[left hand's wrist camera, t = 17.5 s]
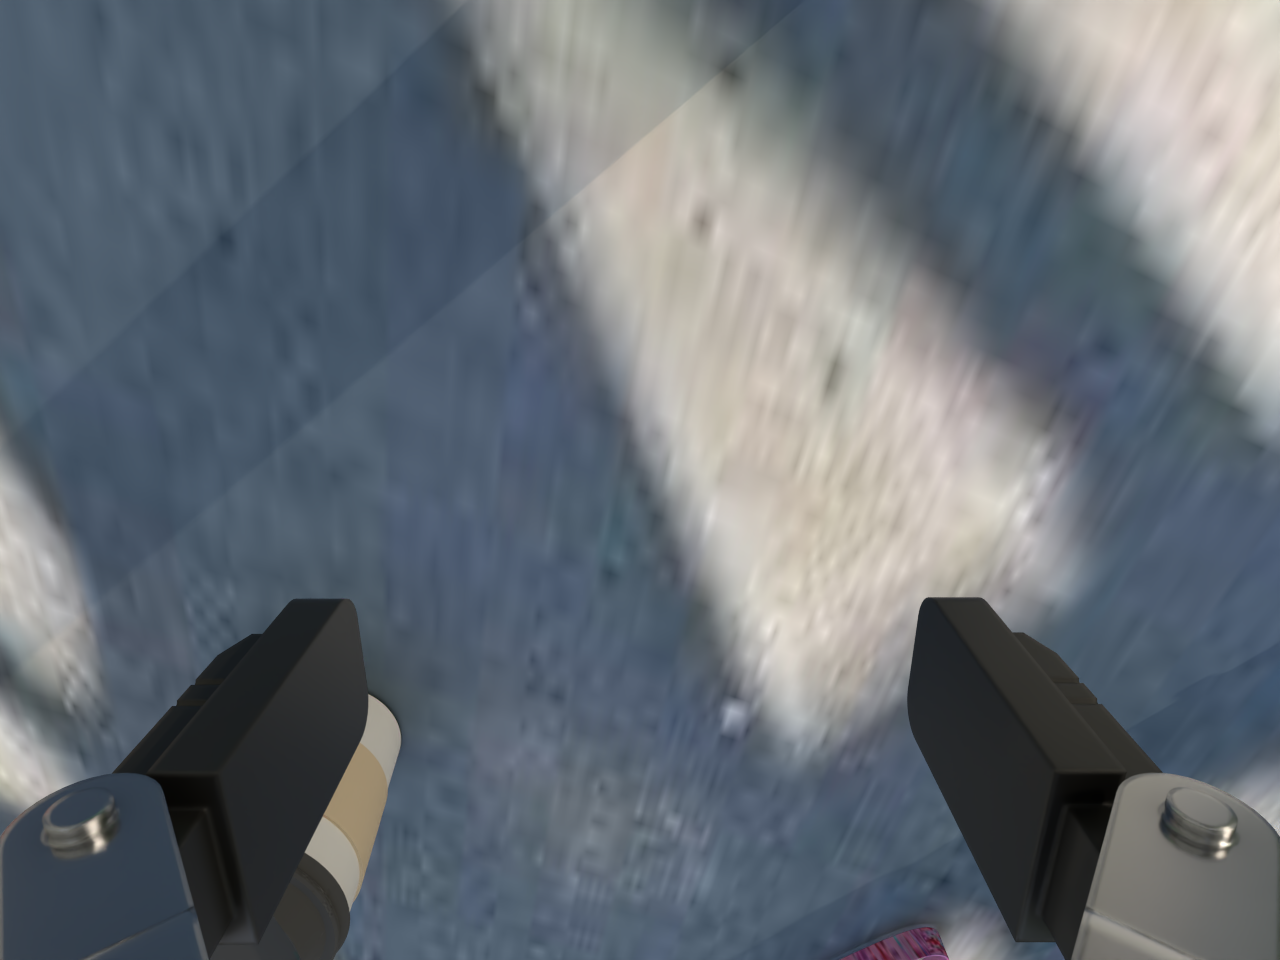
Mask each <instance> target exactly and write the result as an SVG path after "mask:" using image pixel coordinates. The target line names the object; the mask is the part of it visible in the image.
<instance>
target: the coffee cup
mask: <svg viewBox="0 0 1280 960" xmlns="http://www.w3.org/2000/svg"><path fill="white" fill-rule="evenodd" d="M368 700H369V702H368V716H367V722H366V727H365V731H364V734H363V737H362V739H361V741H360V743H359V745H358V747H357V749H356V751H355V753H354V755H353V757H352V759H351V761H350V763H349V765H348V767H347V769H346V771H345V773H344V775H343V777H342V779H341V781H340V783H339V785H338V787H337V789H336V791H335V793H334V795H333V797H332V799H331V801H330V803H329V805H328V807H327V809H326V811H325V813H324V815H323V817H322V819H321V821H320V823H319V825H318V827H317V829H316V831H315V833H314V835H313V837H312V839H311V841H310V843H309V845H308V847H307V849H306V851H305V853H304V855H303V857H302V859H301V861H300V863H299V865H298V867H297V869H296V871H295V873H294V875H293V877H292V879H291V881H290V883H289V885H288V887H287V889H286V891H285V893H284V895H283V897H282V899H281V901H280V903H279V905H278V907H277V908H276V910H275V912H274V914H273V916H272V918H271V920H270V922H269V924H268V926H267V928H266V930H265V932H264V934H263V936H262V938H261V940H260V942H259V944H258V945H218V946H217V947H216V949H215V951H214V953H213V955H212V956H211V958H210V960H333V959H334V957H335V955H336V953H337V952H338V950H339V949H340V948H341V946H342V945H343V943H344V941H345V939H346V937H347V934H348V930H349V925H350V910H351V906H352V903H353V902H354V900H355V899H356V897H357V895H358V893H359V891H360V888H361V885H362V882H363V878H364V875H365V872H366V868H367V865H368V861H369V858H370V854H371V851H372V848H373V844H374V841H375V837H376V834H377V831H378V827H379V824H380V820H381V817H382V814H383V810H384V807H385V803H386V800H387V793H388V786H389V783H390V779H391V776H392V773H393V770H394V766H395V763H396V760H397V757H398V753H399V750H400V746H401V734H400V729H399V726H398V723H397V721H396V719H395V718H394V716H393V714H392V713H391V712H390V711H389V709H388V708H387V707H386V706H385V705H384V704H383V703H381V702H380V701H379V700H377V699H376V698H374V697H373V696H371V695H369V694H368Z"/></svg>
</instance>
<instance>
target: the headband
mask: <svg viewBox="0 0 1280 960" xmlns="http://www.w3.org/2000/svg"><path fill="white" fill-rule="evenodd" d="M924 957H925V958H924ZM920 958H924V959H923V960H949V958H948V956H947V953H946V951H945V948H944V946H943V943H942V941H941V938H940V936H939V933H938V931H937V930H936V929H934V928H929V927H925V928H918V929H913V930H910V931H906V932H903V933H900V934H898V935H895V936H892V937H890V938H887V939H885V940H882V941H880V942H878V943H875V944H873V945H871V946H869V947H866V948H864V949H862V950H860V951H858V952H855V953H853V954H851V955H849V956H847V957H845V958H843V959H841V960H917V959H920Z"/></svg>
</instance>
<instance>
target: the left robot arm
mask: <svg viewBox="0 0 1280 960" xmlns="http://www.w3.org/2000/svg"><path fill="white" fill-rule="evenodd" d="M368 702H369V700H368V688H367V681H366V674H365V667H364V660H363V653H362V646H361V639H360V632H359V625H358V618H357V613H356V609H355V606H354V604H353V603H352V601H351V600H350V599H293V600H292V601H290V602H289V603H288V604H287V606H286V607H285V608H284V609H283V610H282V612H281V613H280V614H279V615H278V616H277V617H276V619H275V620H274V621H273V622H272V623H271V625H270V626H269V627H268V628H267V629H266V631H265V632H264V633H263V634H251V635H250V636H248V637H246V638H245V639H243V640H241V641H240V642H238V643H237V644H235V645H233V646H232V647H230V648H229V649H227V650H225V651H224V652H222V653H221V654H219V655H218V656H217V657H216V658H215V659H214V660H213V661H212V662H211V663H210V664H209V666H208V667H207V668H206V669H205V670H204V671H203V672H202V673H201V675H200V676H199V677H198V678H197V679H196V683H195V685H191V686H190V687H189V688H188V689H187V690H186V691H185V692H184V694H183V695H182V696H181V697H180V698H179V699H178V700H177V705H176V706H172V707H171V708H170V709H169V710H168V711H167V712H166V714H165V715H164V716H163V717H162V718H161V719H160V720H159V721H158V723H157V724H156V725H155V726H154V727H153V728H152V729H151V730H150V731H149V733H148V734H147V735H146V736H145V737H144V738H143V739H142V740H141V742H140V743H139V744H138V745H137V746H136V747H135V748H134V749H133V750H132V752H131V753H130V754H129V755H128V756H127V757H126V758H125V759H124V760H123V762H122V763H121V764H120V765H119V766H118V767H117V768H116V769H115V771H114V772H113V773H112V774H106V775H101V776H97V777H92V778H89V779H86V780H83V781H79V782H77V783H74V784H72V785H69V786H67V787H64V788H62V789H60V790H58V791H56V792H54V793H52V794H50V795H48V796H46V797H45V798H43V799H41V800H40V801H38V802H36V803H35V804H34V805H32V806H31V807H29V808H28V809H26V810H25V811H24V812H23V813H22V814H20V815H19V816H18V817H17V818H16V819H15V820H14V821H13V822H12V823H11V824H10V825H9V826H8V827H7V828H6V829H5V831H4V832H3V834H2V835H1V836H0V960H210V958H211V956H212V955H213V953H214V951H215V949H216V947H217V946H218V945H258V944H259V942H260V940H261V938H262V936H263V934H264V932H265V930H266V928H267V926H268V924H269V922H270V920H271V918H272V916H273V914H274V912H275V910H276V908H277V907H278V905H279V903H280V901H281V899H282V897H283V895H284V893H285V891H286V889H287V887H288V885H289V883H290V881H291V879H292V877H293V875H294V873H295V871H296V869H297V867H298V865H299V863H300V861H301V859H302V857H303V855H304V853H305V851H306V849H307V847H308V845H309V843H310V841H311V839H312V837H313V835H314V833H315V831H316V829H317V827H318V825H319V823H320V821H321V819H322V817H323V815H324V813H325V811H326V809H327V807H328V805H329V803H330V801H331V799H332V797H333V795H334V793H335V791H336V789H337V787H338V785H339V783H340V781H341V779H342V777H343V775H344V773H345V771H346V769H347V767H348V765H349V763H350V761H351V759H352V757H353V755H354V753H355V751H356V749H357V747H358V745H359V743H360V741H361V739H362V737H363V734H364V731H365V727H366V722H367V716H368ZM907 704H908V715H909V721H910V726H911V729H912V733H913V735H914V738H915V740H916V742H917V744H918V746H919V748H920V750H921V752H922V754H923V756H924V758H925V760H926V762H927V764H928V766H929V768H930V770H931V772H932V774H933V776H934V778H935V780H936V782H937V784H938V786H939V788H940V790H941V792H942V794H943V796H944V798H945V800H946V802H947V804H948V806H949V808H950V810H951V812H952V814H953V817H954V819H955V821H956V823H957V825H958V827H959V829H960V831H961V833H962V835H963V837H964V839H965V841H966V843H967V845H968V847H969V849H970V851H971V853H972V855H973V857H974V859H975V861H976V863H977V865H978V867H979V869H980V871H981V873H982V875H983V877H984V879H985V881H986V883H987V885H988V887H989V889H990V891H991V893H992V895H993V897H994V899H995V901H996V903H997V905H998V907H999V909H1000V911H1001V913H1002V915H1003V917H1004V919H1005V921H1006V923H1007V925H1008V927H1009V930H1010V932H1011V934H1012V936H1013V938H1014V940H1015V942H1056V944H1057V945H1058V947H1059V949H1060V951H1061V953H1062V955H1063V956H1064V958H1065V960H1280V836H1279V835H1278V834H1277V832H1276V831H1275V829H1274V828H1273V827H1272V826H1271V825H1270V824H1269V823H1268V822H1267V821H1266V820H1265V819H1264V818H1263V817H1262V816H1261V815H1260V814H1258V813H1257V812H1256V811H1255V810H1254V809H1252V808H1251V807H1249V806H1248V805H1246V804H1245V803H1244V802H1242V801H1240V800H1239V799H1237V798H1235V797H1234V796H1232V795H1230V794H1228V793H1226V792H1224V791H1222V790H1220V789H1218V788H1216V787H1213V786H1211V785H1208V784H1206V783H1203V782H1201V781H1197V780H1194V779H1191V778H1188V777H1183V776H1179V775H1174V774H1166V773H1163V772H1162V771H1161V770H1160V769H1159V768H1158V767H1157V766H1156V765H1155V763H1154V762H1153V761H1152V760H1151V759H1150V758H1149V757H1148V756H1147V754H1146V753H1145V752H1144V751H1143V750H1142V749H1141V748H1140V747H1139V745H1138V744H1137V743H1136V742H1135V741H1134V740H1133V739H1132V738H1131V736H1130V735H1129V734H1128V733H1127V732H1126V731H1125V730H1124V729H1123V727H1122V726H1121V725H1120V724H1119V723H1118V722H1117V721H1116V720H1115V718H1114V717H1113V716H1112V715H1111V714H1110V713H1109V712H1108V711H1107V709H1106V708H1105V707H1104V706H1103V705H1102V704H1098V703H1097V698H1096V697H1095V696H1094V695H1093V694H1092V692H1091V691H1090V690H1089V689H1088V688H1087V687H1086V686H1085V685H1084V683H1079V678H1078V677H1077V676H1076V674H1075V673H1074V672H1073V671H1072V670H1071V669H1070V668H1069V667H1068V665H1067V664H1066V663H1065V662H1064V661H1063V660H1062V659H1061V658H1060V656H1059V655H1058V654H1057V653H1055V652H1054V651H1052V650H1050V649H1049V648H1047V647H1046V646H1044V645H1042V644H1041V643H1039V642H1038V641H1036V640H1034V639H1033V638H1031V637H1030V636H1028V635H1026V634H1025V633H1012V632H1011V630H1010V629H1009V628H1008V627H1007V626H1006V624H1005V623H1004V622H1003V621H1002V620H1001V618H1000V617H999V616H998V615H997V614H996V612H995V611H994V610H993V609H992V608H991V606H990V605H989V604H988V603H987V602H986V601H985V600H984V599H983V598H979V597H928V598H926V599H924V601H923V602H922V604H921V607H920V610H919V615H918V622H917V629H916V636H915V643H914V650H913V657H912V664H911V671H910V679H909V686H908V696H907Z"/></svg>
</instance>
